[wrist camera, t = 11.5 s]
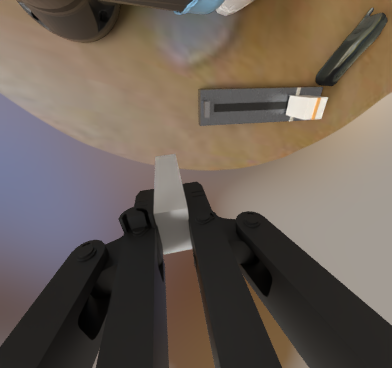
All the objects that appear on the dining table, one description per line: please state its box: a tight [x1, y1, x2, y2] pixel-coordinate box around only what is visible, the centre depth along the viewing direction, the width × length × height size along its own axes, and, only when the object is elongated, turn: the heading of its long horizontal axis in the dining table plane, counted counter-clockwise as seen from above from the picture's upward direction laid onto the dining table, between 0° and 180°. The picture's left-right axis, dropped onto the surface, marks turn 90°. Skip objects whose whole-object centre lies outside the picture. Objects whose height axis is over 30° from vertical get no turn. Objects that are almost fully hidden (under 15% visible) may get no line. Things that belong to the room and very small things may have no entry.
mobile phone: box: [316, 8, 387, 86], centre depth 37 cm, size 5×3×15 cm
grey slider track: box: [198, 87, 323, 126], centre depth 40 cm, size 7×28×4 cm, turn 91°
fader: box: [286, 95, 328, 120], centre depth 38 cm, size 4×4×6 cm
